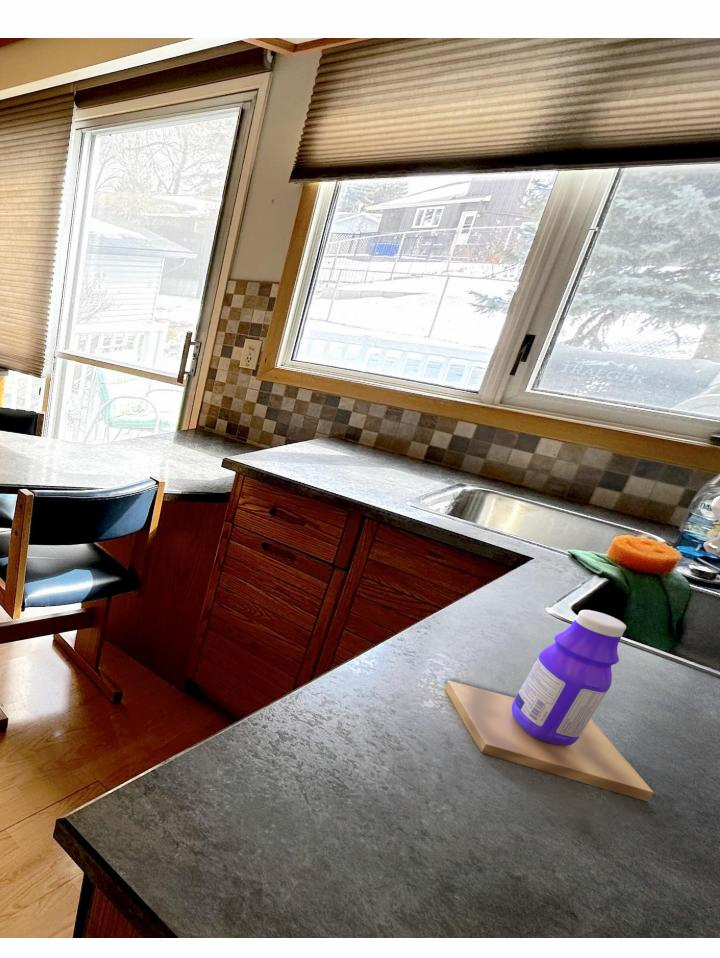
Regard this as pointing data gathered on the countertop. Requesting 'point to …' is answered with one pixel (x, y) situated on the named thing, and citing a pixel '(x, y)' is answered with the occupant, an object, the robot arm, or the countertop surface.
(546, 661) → the bottle
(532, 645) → the countertop surface
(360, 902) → the countertop surface
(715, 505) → the robot arm
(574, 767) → the board
